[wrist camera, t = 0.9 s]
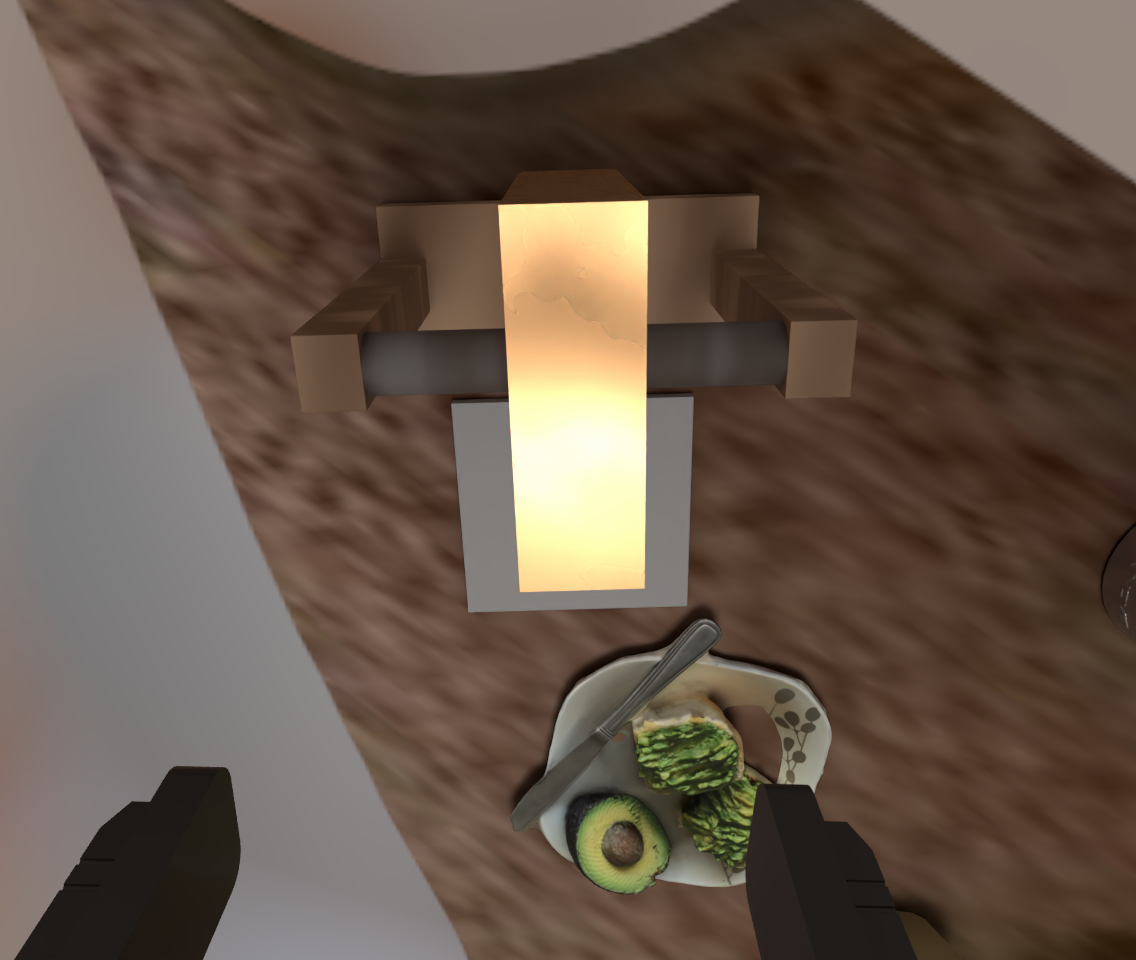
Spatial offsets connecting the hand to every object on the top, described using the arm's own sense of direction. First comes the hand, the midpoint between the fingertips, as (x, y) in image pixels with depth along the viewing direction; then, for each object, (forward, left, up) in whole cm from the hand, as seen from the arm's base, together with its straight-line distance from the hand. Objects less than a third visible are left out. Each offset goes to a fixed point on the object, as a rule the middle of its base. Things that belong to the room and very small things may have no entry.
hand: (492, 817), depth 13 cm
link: (-2, -3, -24) cm, 24 cm away
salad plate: (-7, +27, -32) cm, 43 cm away
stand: (-2, -3, -32) cm, 32 cm away
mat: (-2, +9, -32) cm, 33 cm away
